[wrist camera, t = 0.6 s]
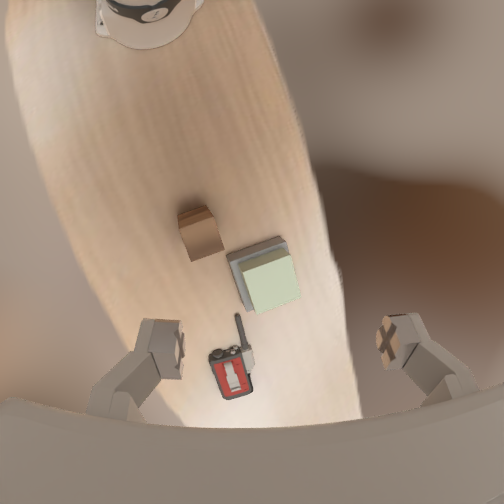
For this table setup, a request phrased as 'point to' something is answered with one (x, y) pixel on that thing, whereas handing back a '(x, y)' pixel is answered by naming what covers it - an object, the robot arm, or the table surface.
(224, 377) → the walkie-talkie
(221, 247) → the walnut pillar
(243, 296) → the tower base block
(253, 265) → the tower top block
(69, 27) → the table surface
